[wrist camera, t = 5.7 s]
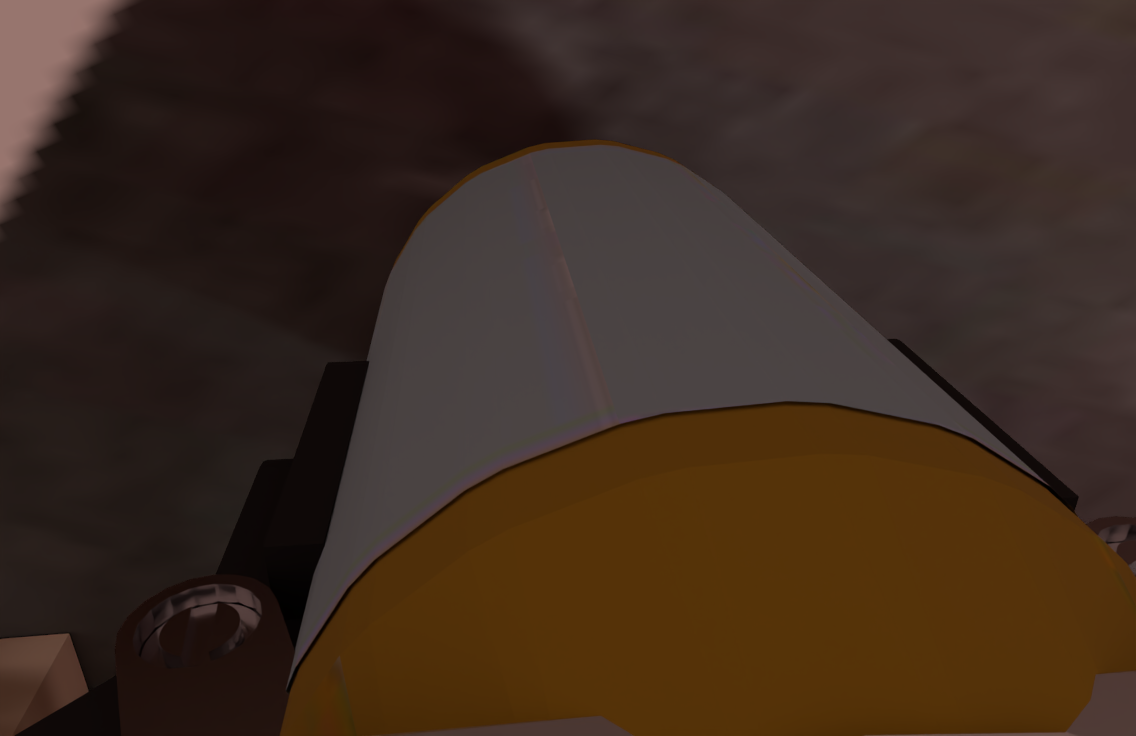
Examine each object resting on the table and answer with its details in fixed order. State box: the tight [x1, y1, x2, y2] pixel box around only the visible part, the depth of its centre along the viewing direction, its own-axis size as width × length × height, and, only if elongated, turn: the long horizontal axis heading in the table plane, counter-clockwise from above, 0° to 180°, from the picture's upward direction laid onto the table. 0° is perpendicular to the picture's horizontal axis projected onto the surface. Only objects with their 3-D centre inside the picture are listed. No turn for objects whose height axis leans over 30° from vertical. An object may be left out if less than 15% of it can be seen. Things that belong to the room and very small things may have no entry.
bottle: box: [280, 139, 1136, 736], centre depth 9 cm, size 7×7×15 cm
